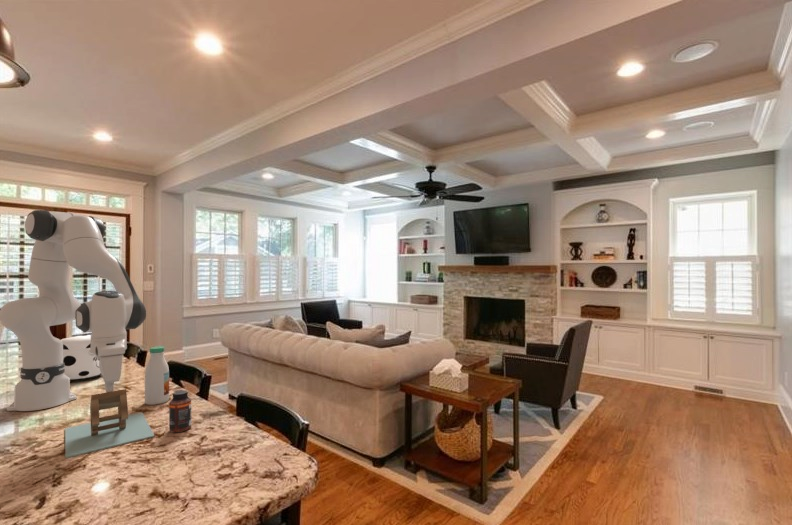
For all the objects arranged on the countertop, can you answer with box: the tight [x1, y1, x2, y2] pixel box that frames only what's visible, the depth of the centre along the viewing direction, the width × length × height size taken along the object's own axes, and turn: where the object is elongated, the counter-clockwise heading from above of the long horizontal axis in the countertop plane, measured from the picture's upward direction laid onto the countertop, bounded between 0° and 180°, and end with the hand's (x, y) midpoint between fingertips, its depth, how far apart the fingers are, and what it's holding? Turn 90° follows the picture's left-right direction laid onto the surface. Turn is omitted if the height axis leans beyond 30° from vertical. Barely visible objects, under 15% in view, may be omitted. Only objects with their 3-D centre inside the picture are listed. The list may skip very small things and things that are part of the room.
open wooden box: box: [89, 389, 129, 436], centre depth 118 cm, size 9×8×8 cm
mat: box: [64, 412, 156, 459], centre depth 118 cm, size 24×20×1 cm
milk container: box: [60, 334, 102, 382], centre depth 177 cm, size 17×17×18 cm
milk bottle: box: [144, 346, 170, 406], centre depth 146 cm, size 8×8×20 cm
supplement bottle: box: [168, 389, 192, 433], centre depth 121 cm, size 6×6×11 cm
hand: (109, 391), depth 119 cm, fingers closed
